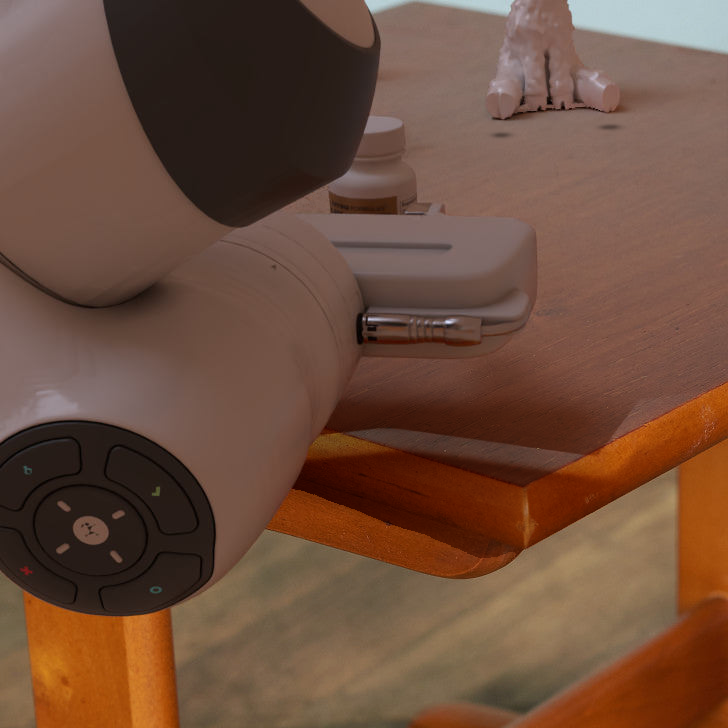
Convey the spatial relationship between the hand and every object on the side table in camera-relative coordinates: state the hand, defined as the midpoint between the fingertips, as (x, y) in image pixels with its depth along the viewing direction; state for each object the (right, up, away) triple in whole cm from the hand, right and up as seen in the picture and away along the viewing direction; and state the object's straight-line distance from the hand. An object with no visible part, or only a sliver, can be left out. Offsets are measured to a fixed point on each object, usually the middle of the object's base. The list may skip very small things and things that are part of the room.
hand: (323, 217), depth 73 cm
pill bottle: (+1, -1, +12) cm, 12 cm away
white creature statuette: (+10, +16, +45) cm, 48 cm away
